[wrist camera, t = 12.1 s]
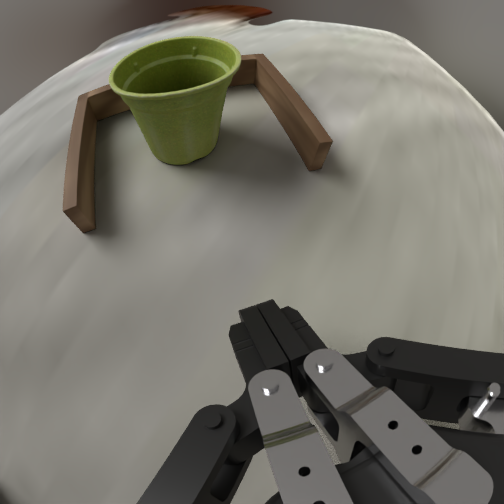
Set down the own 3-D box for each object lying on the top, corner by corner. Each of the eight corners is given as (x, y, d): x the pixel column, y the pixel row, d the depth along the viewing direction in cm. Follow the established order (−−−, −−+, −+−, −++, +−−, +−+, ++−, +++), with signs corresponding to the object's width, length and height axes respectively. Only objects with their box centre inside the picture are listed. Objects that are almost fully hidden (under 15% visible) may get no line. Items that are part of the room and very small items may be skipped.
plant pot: (246, 116, 24) (253, 39, 16) (221, 190, 21) (219, 100, 13) (159, 107, 25) (146, 37, 17) (118, 174, 21) (83, 97, 13)
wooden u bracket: (83, 233, 19) (62, 211, 15) (88, 118, 24) (78, 96, 21) (321, 168, 22) (332, 141, 19) (260, 77, 28) (262, 53, 24)
